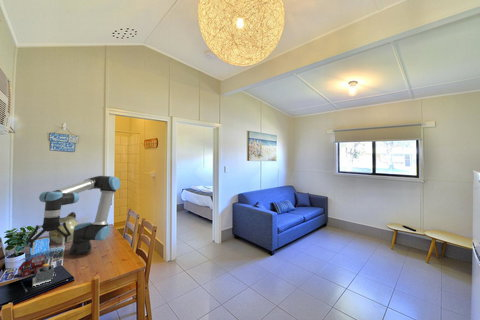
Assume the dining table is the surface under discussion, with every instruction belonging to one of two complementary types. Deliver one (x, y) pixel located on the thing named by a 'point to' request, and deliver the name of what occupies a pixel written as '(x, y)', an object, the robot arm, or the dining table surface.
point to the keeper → (45, 267)
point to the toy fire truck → (35, 263)
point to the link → (44, 274)
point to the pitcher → (70, 225)
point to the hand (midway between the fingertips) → (48, 249)
